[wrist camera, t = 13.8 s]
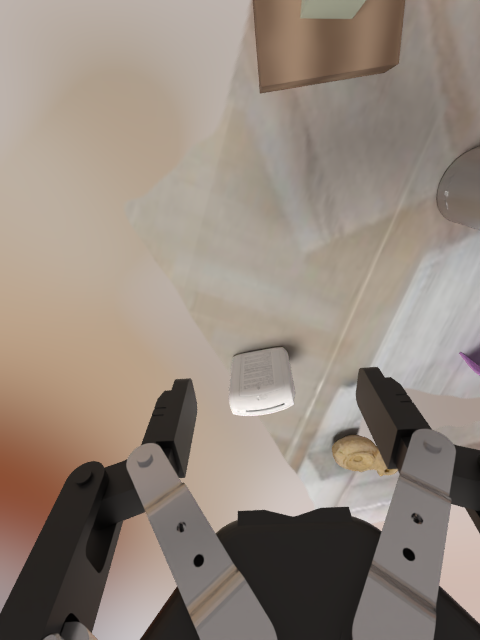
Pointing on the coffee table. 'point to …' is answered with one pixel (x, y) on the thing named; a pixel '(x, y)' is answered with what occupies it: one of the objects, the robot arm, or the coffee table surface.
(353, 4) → the sage block
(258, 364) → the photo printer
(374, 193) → the coffee table surface
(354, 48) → the walnut block
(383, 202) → the coffee table surface
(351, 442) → the oil lamp
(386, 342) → the coffee table surface
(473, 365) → the toy chair
